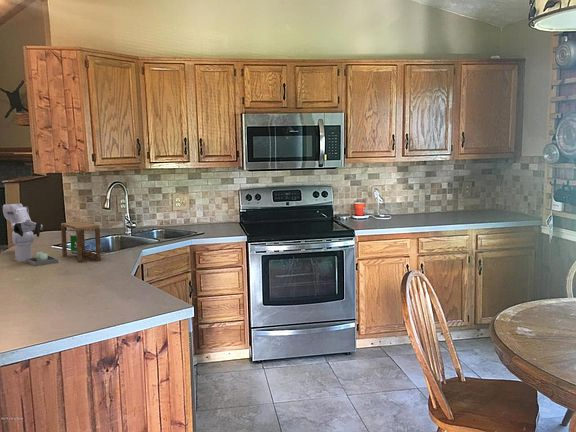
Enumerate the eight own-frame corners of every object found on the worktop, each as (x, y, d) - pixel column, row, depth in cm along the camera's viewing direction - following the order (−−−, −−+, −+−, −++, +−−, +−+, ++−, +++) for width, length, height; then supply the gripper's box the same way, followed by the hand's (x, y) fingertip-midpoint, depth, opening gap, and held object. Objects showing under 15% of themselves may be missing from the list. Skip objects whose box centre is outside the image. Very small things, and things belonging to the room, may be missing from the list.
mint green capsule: (39, 263, 267) (38, 254, 266) (46, 262, 269) (45, 253, 269) (41, 264, 264) (41, 255, 263) (49, 263, 267) (48, 254, 266)
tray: (26, 263, 269) (25, 258, 268) (49, 260, 277) (49, 255, 277) (34, 267, 260) (34, 262, 260) (58, 263, 269) (58, 259, 268)
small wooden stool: (62, 257, 285) (60, 223, 282) (83, 254, 293) (82, 221, 291) (79, 263, 269) (77, 227, 267) (100, 260, 278) (99, 225, 275)
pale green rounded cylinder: (35, 261, 270) (35, 252, 270) (42, 260, 273) (42, 251, 272) (38, 262, 268) (37, 253, 267) (45, 261, 270) (44, 252, 270)
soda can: (70, 253, 294) (69, 233, 293) (72, 251, 301) (71, 231, 300) (84, 253, 296) (83, 232, 295) (85, 250, 303) (84, 230, 302)
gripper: (10, 214, 261) (16, 227, 252) (41, 215, 270) (47, 228, 261) (8, 225, 263) (13, 239, 254) (38, 226, 273) (44, 240, 264)
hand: (30, 235), depth 258 cm, fingers open, 7 cm apart
